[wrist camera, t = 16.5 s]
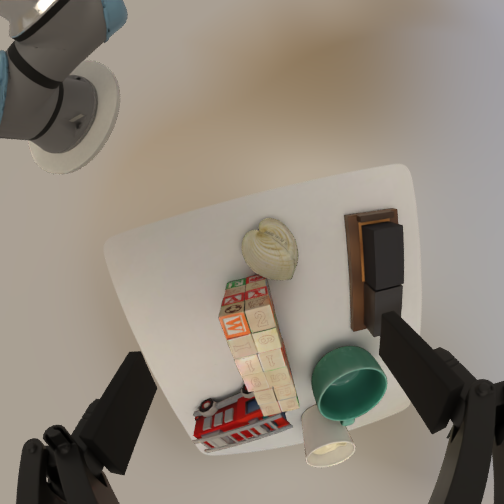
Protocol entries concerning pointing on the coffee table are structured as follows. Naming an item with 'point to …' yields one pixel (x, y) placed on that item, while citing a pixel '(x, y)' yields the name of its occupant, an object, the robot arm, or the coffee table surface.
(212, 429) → the toy fire truck
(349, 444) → the candle holder
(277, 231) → the seashell
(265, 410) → the stack of blocks
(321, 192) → the coffee table surface
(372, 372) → the mug
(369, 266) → the black block
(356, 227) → the brown wooden tray
